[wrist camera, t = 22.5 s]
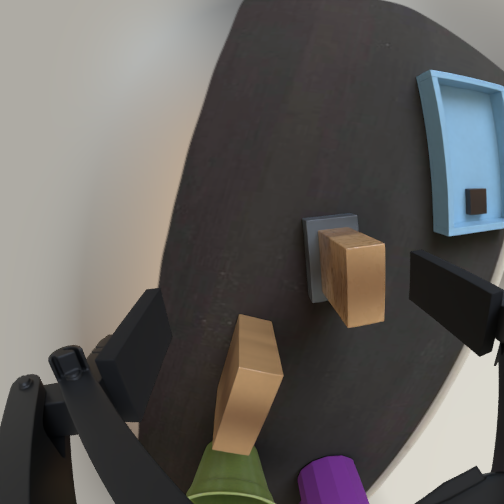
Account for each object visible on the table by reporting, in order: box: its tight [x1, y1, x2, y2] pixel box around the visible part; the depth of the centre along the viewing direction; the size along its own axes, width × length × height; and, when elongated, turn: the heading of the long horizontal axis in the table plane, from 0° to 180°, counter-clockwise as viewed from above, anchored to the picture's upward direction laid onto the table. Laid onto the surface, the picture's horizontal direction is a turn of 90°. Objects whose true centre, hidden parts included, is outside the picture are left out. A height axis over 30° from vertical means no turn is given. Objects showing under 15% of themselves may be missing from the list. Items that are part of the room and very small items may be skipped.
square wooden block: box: [212, 314, 283, 456], centre depth 28 cm, size 10×4×10 cm, turn 164°
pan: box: [416, 70, 504, 236], centre depth 27 cm, size 18×13×3 cm
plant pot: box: [186, 441, 276, 504], centre depth 31 cm, size 12×12×11 cm
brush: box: [302, 213, 385, 328], centre depth 26 cm, size 8×5×10 cm, turn 7°
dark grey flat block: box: [465, 188, 487, 215], centre depth 29 cm, size 3×3×1 cm
